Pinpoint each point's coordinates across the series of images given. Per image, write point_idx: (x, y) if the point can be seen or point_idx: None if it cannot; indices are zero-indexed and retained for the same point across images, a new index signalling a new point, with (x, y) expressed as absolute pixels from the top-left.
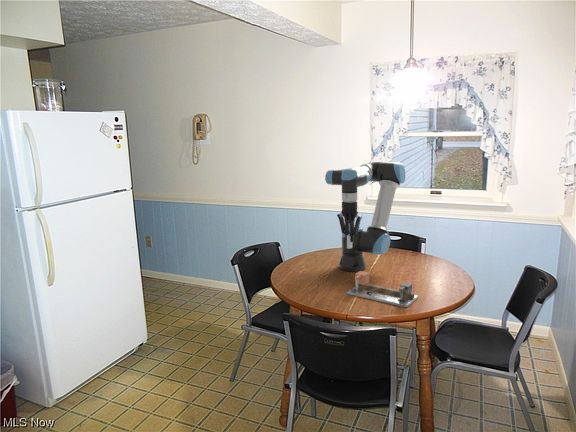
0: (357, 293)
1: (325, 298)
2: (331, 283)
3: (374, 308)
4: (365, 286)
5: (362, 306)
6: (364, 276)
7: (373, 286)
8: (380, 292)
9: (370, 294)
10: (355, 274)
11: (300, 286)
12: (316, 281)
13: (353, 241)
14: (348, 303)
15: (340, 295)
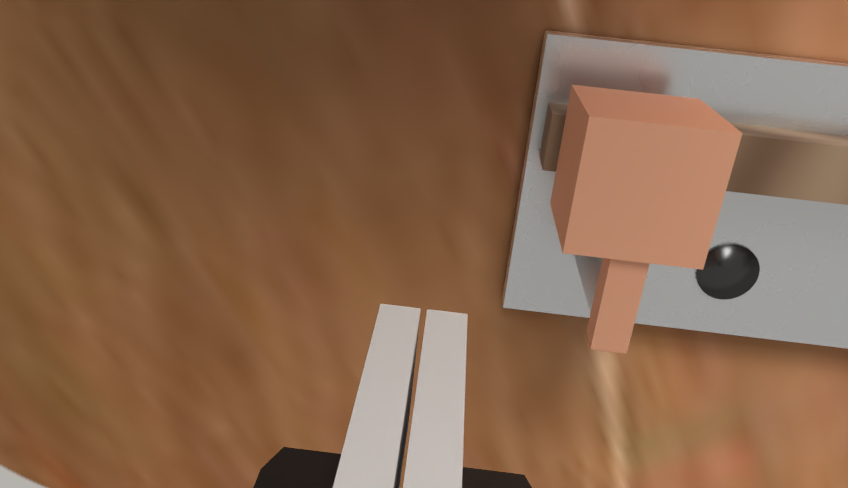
0: None
1: None
2: (226, 98)
3: (813, 459)
4: None
5: (709, 460)
6: (696, 262)
7: (772, 192)
8: None
9: (746, 291)
10: (561, 248)
11: (24, 297)
12: (56, 114)
13: (522, 477)
14: (583, 451)
15: None
